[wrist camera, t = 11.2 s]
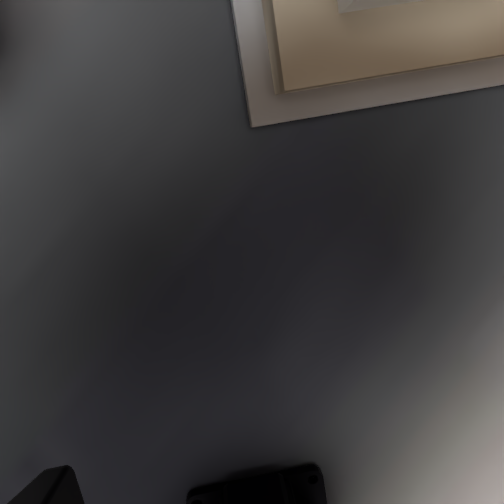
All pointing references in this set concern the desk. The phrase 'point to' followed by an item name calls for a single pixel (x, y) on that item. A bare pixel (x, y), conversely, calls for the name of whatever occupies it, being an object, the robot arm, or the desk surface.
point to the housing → (367, 4)
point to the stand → (362, 54)
